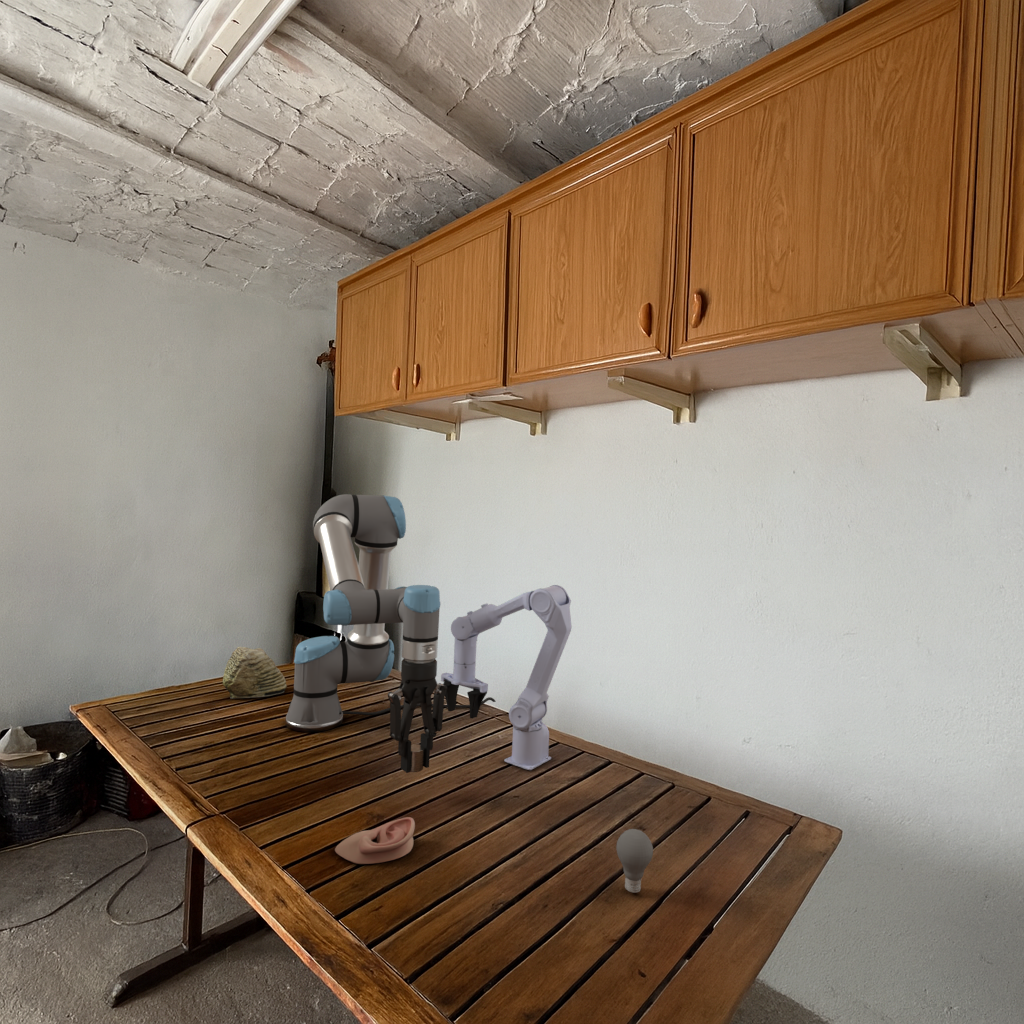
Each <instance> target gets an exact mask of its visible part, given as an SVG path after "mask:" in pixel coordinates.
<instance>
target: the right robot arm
mask: <svg viewBox="0 0 1024 1024" xmlns="http://www.w3.org/2000/svg"><path fill="white" fill-rule="evenodd" d="M571 602H572V600H571V598H570V596H569V594H568V592H567V590H566V589H565V588H564V587H563V586H561V585H558V584H552V585H549V586H546V587H544V588H542V587H541V588H537V589H535V590H531V591H525V592H523V593H520V594H519V595H517V596H515V597H513V598H511V599H509V600H507V601H505V602H503V603H501V604H498V605H495V604H493V603H487V602H486V603H484V604H481V605H480V607H481V608H478V609H476V610H474V611H472V610H469V611H467V613H466V615H464V616H458V617H456V618H455V619H454V620H453V621H452V622H451V624H450V632H451V634H452V636H453V637H454V649H453V669H452V670H453V672H452V673H450V672H444V673H440V681H441V682H443V683H442V684H443V685H445V686H447V691H446V694H445V696H444V699H445V702H446V705H447V707H448V708H447V711H448V712H453V711H455V710H456V709H457V708H456V705H457V700H458V699H457V697H458V692H459V688H460V686H461V687H464V688H466V689H467V688H468V689H471V690H469V691H467V692H466V693H467V697H468V702H469V705H470V708H469V718H470V719H472V720H473V719H475V718H477V717H478V715H479V711H480V708H481V706H482V705H481V703H482V701H483V700H485V697H486V696H487V694H488V691H489V683H486V682H484V681H482V680H480V679H478V678H476V666H477V665H476V664H477V663H476V662H477V644H478V643H477V642H478V636H479V635H480V634H482V633H483V632H486V631H488V630H490V629H493V628H495V627H498V626H499V625H501V623H502V620H503V618H504V617H507V616H510V615H512V614H515V613H517V612H519V611H522V610H526V611H529V612H530V611H533V613H534V614H535V615H536V616H537V617H538V618H539V619H540V620H541V621H542V622H543V624H544V625H545V627H546V629H547V632H546V634H545V637H544V639H543V641H542V645H541V647H540V649H539V652H538V655H537V657H536V660H535V661H534V666H533V668H532V670H531V673H530V676H529V678H528V681H527V682H526V686H525V688H524V689H523V690H522V692H521V693H520V694H519V696H518V698H517V700H516V702H515V703H514V704H513V705H511V707H510V708H509V710H508V719H509V721H510V723H511V725H512V743H511V756H508V757H507V758H504V762H505V763H507V764H510V765H512V766H515V767H518V768H521V769H524V770H526V771H533V770H534V769H536V768H537V767H540V766H541V765H544V764H545V763H547V762H549V761H551V760H552V756H550V755H549V752H550V751H549V750H550V749H549V748H550V730H549V728H548V726H547V725H546V723H544V721H543V719H544V718H545V716H546V715H547V713H548V700H549V698H550V695H549V694H548V690H549V688H550V686H551V682H552V680H553V678H554V675H555V672H556V670H557V668H558V665H559V662H560V660H561V657H562V655H563V652H564V650H565V647H566V644H567V642H568V639H569V636H570V635H571V632H572V627H573V626H572V617H571V616H572V615H571ZM480 705H481V706H480Z"/></svg>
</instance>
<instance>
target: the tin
mask: <svg viewBox="0 0 1024 1024" xmlns="http://www.w3.org/2000/svg"><path fill="white" fill-rule="evenodd" d="M423 764H424V746H422V745H420V744H417V743H413V744H412V743H411V762H410V772H409V773H419V772H421V771H423V770H424V766H423Z"/></svg>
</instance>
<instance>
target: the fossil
mask: <svg viewBox="0 0 1024 1024" xmlns="http://www.w3.org/2000/svg"><path fill="white" fill-rule="evenodd" d="M222 676H223V677H222V685H223V687H224V688H225V690H226V691H228V693H229V698H230V699H250V698H264V697H271V696H275V695H281V694H284V693H285V691H286V689H287V687H288V686H287V680H286V678H285V676H284V674H283V673H282V672H281V669H279V668H278V667H277V665H276V663H275V662H274V660H273V659H272V658H271V657H270V656H269V655H268V654H267V653H266V652H265V650H264V649H263V648H260V647H258V648H251V647H247V646H246V647H245V646H238V647H237V648H236V649H235V650H233V651H232V653H231V656H230V657H229V659H228V660H227V663H226V666H225V668H224V671H223V675H222Z"/></svg>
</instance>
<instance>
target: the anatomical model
mask: <svg viewBox="0 0 1024 1024" xmlns="http://www.w3.org/2000/svg"><path fill="white" fill-rule="evenodd" d="M415 828H416V823H415V820H414V818H413V817H410V816H409V817H402V818H398V819H395V820H392V821H389V822H386V823H384V824H382V825H380V826H377V827H375V828H372V829H368V830H361V831H358V832H356V833H353V834H352V835H350V836H348V837H346V838H345V839H343V840H342V841H340V843H338V844H337V845H336V846H335V848H334V852H335V853H336V854H337V855H338V856H340V857H341V858H343V859H344V860H347V861H348V862H351V863H353V864H357V865H369V864H370V865H371V864H380V863H385V862H390V861H394V860H398V859H400V858H402V857H404V856H407V855H408V854H409V853H410V852H411V851H412V849H413V847H414V837H413V835H414V833H415Z"/></svg>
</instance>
